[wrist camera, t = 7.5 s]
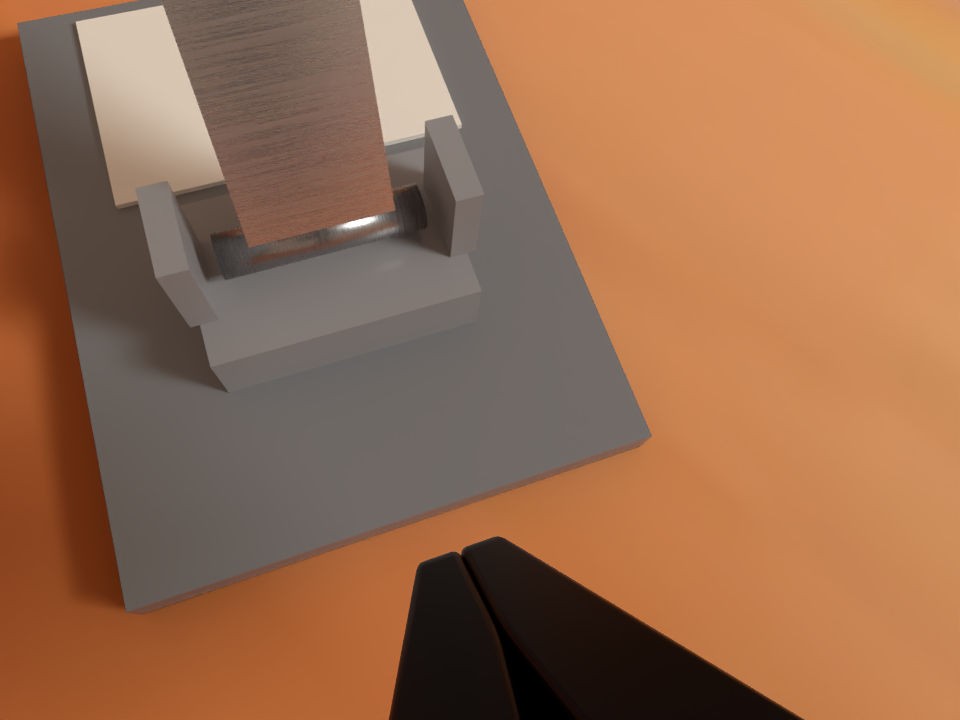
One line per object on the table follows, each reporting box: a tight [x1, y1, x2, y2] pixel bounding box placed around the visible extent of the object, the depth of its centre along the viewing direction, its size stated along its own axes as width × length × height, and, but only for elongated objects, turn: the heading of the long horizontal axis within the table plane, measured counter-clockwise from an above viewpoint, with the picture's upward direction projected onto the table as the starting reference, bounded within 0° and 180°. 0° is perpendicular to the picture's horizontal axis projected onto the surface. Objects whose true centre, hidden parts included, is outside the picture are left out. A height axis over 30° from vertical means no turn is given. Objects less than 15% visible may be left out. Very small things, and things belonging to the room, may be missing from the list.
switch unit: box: [17, 0, 652, 614], centre depth 18 cm, size 16×12×5 cm
